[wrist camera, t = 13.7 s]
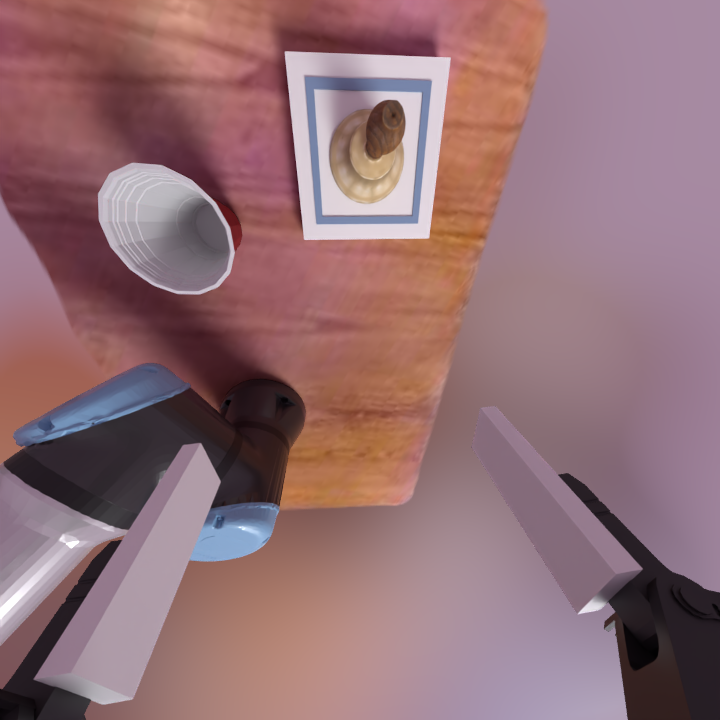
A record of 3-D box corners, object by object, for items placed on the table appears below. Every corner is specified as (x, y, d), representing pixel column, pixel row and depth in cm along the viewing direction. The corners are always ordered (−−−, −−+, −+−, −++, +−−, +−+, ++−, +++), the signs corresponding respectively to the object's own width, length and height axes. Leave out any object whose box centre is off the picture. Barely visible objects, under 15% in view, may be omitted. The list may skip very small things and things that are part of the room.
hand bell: (394, 209, 31) (441, 206, 17) (326, 196, 30) (317, 181, 16) (412, 120, 27) (491, 21, 13) (333, 100, 26) (331, -32, 12)
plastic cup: (220, 287, 37) (175, 316, 26) (154, 213, 32) (66, 212, 21) (280, 245, 35) (257, 259, 24) (220, 158, 29) (157, 129, 19)
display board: (306, 237, 34) (303, 239, 32) (289, 67, 26) (284, 50, 24) (422, 236, 35) (429, 238, 33) (439, 72, 27) (451, 56, 25)
